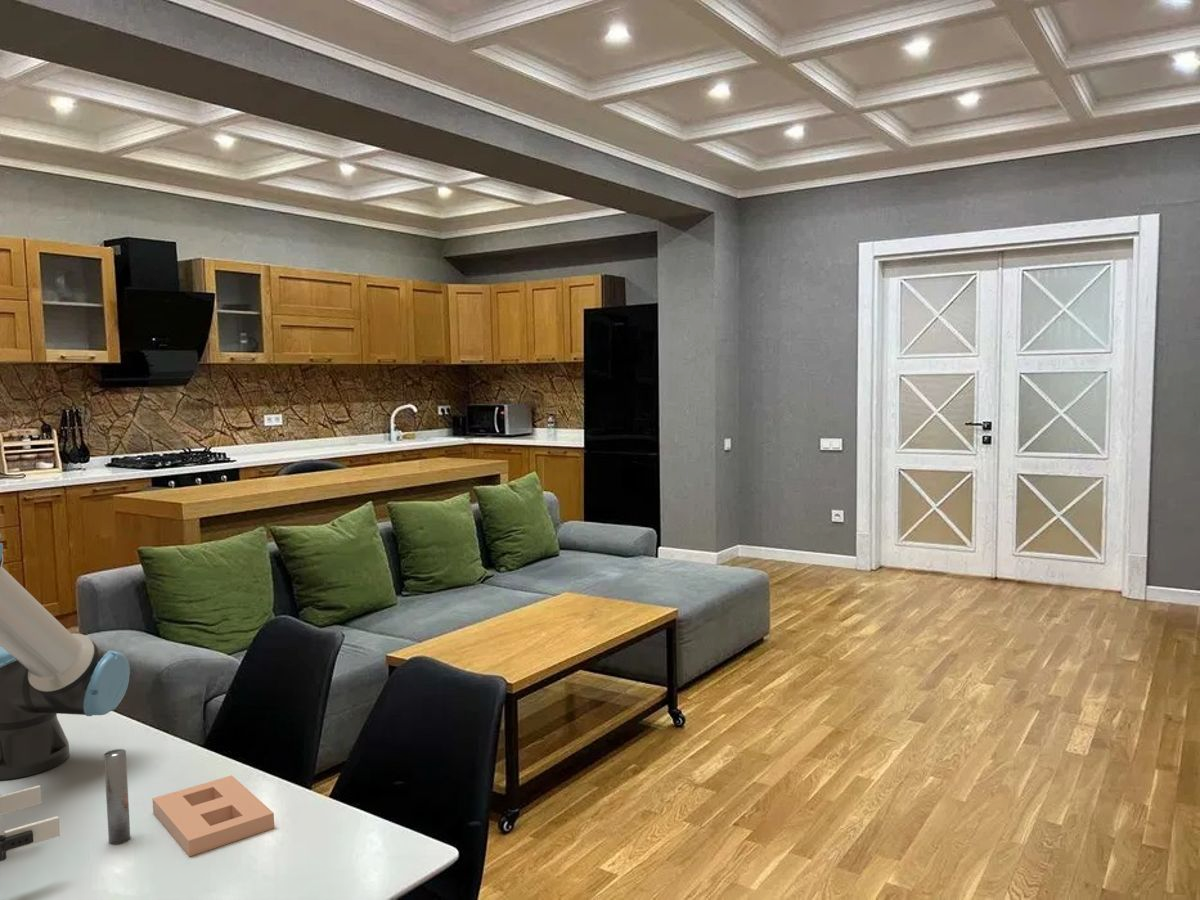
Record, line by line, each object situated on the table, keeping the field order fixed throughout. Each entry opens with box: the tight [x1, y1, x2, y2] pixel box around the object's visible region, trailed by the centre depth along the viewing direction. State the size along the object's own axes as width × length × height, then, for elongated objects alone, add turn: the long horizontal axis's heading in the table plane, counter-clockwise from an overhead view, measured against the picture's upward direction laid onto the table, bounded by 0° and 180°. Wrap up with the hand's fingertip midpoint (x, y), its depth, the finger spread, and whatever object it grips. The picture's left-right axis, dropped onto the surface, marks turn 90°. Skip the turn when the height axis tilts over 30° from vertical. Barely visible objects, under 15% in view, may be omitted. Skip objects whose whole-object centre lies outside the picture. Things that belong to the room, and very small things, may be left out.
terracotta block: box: [152, 774, 275, 858], centre depth 147 cm, size 19×13×2 cm
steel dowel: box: [103, 748, 131, 845], centre depth 141 cm, size 3×3×14 cm
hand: (49, 809), depth 135 cm, fingers open, 13 cm apart
